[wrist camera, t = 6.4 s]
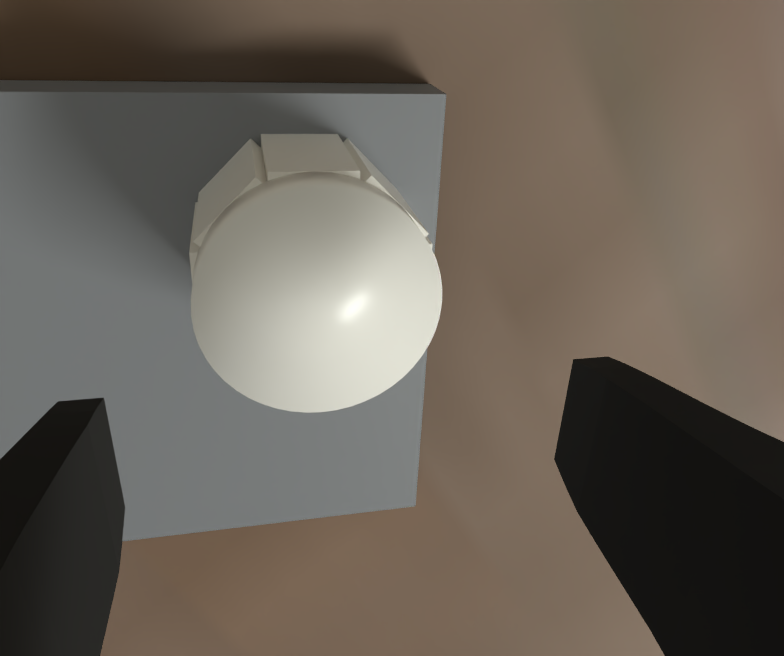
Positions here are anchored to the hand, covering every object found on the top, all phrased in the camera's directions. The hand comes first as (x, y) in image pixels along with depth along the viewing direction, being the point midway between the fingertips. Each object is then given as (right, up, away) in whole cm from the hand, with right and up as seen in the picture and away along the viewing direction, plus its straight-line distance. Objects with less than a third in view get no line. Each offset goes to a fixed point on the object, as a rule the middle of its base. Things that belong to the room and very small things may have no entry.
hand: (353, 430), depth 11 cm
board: (-5, +2, +9) cm, 10 cm away
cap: (-2, +4, +7) cm, 8 cm away
